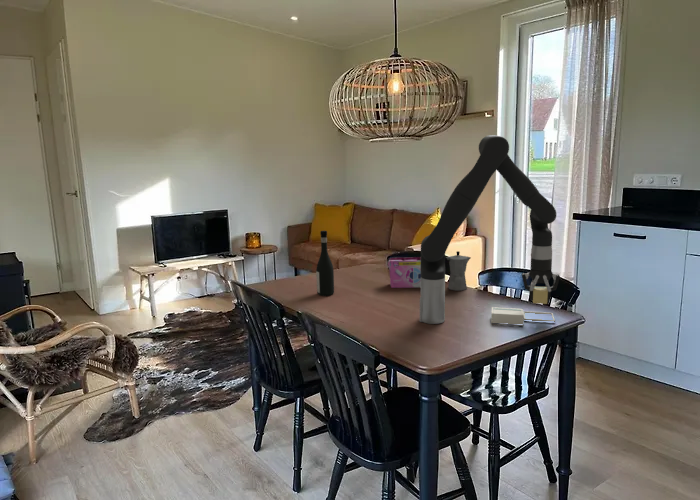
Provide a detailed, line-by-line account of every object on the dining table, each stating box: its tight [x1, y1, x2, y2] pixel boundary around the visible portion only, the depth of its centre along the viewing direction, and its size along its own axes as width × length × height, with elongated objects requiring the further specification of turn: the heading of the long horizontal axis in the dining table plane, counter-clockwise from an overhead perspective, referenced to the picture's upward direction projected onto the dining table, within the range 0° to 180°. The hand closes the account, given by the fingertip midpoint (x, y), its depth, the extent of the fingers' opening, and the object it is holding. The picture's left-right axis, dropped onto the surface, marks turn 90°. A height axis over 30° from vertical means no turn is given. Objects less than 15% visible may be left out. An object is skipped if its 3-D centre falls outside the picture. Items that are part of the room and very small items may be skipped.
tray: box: [523, 310, 556, 323], centre depth 197 cm, size 11×10×1 cm
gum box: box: [387, 256, 421, 289], centre depth 250 cm, size 24×8×14 cm, turn 89°
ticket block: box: [490, 306, 524, 326], centre depth 194 cm, size 12×10×4 cm
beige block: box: [532, 286, 548, 305], centre depth 196 cm, size 5×6×5 cm
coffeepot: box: [445, 250, 472, 291], centre depth 242 cm, size 15×9×18 cm, turn 104°
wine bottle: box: [315, 230, 335, 297], centre depth 236 cm, size 8×8×30 cm
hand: (539, 300), depth 196 cm, fingers closed on beige block, 5 cm apart
